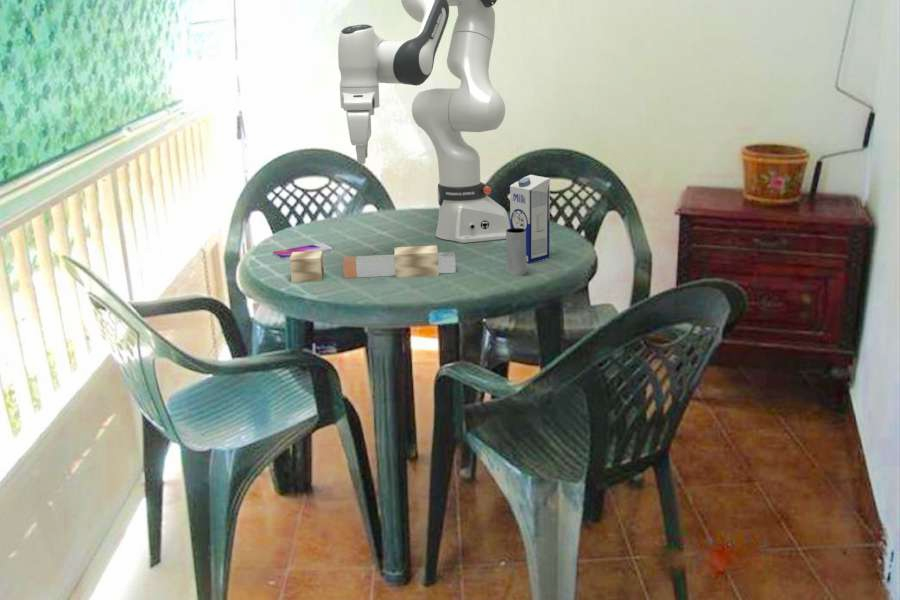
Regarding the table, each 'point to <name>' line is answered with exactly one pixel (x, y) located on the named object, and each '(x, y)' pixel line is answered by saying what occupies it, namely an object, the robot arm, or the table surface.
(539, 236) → the milk carton
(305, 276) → the beige wooden block
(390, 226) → the table surface
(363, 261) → the slip tube
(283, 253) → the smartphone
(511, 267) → the grey cylinder
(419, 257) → the sleeve
